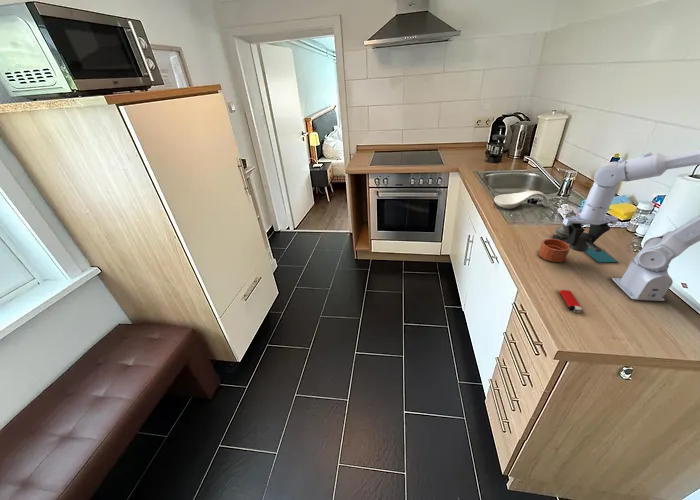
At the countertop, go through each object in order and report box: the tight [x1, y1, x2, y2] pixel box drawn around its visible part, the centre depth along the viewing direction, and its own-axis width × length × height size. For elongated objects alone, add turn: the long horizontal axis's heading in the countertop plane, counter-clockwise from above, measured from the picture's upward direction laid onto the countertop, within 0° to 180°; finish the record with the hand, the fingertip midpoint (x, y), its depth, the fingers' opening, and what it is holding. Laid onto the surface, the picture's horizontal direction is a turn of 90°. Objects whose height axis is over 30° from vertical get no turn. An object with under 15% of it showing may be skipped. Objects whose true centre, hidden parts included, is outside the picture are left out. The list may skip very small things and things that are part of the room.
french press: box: [485, 125, 508, 164], centre depth 194 cm, size 12×9×23 cm
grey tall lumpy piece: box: [553, 209, 577, 243], centre depth 107 cm, size 6×6×12 cm
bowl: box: [538, 238, 571, 263], centre depth 99 cm, size 8×8×5 cm
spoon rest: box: [493, 190, 550, 210], centre depth 135 cm, size 24×12×7 cm, turn 86°
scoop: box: [569, 231, 603, 253], centre depth 89 cm, size 10×5×5 cm, turn 178°
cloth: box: [584, 247, 618, 264], centre depth 99 cm, size 6×9×1 cm, turn 178°
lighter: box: [559, 289, 584, 314], centre depth 81 cm, size 3×1×8 cm
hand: (579, 244), depth 91 cm, fingers closed on scoop, 5 cm apart
